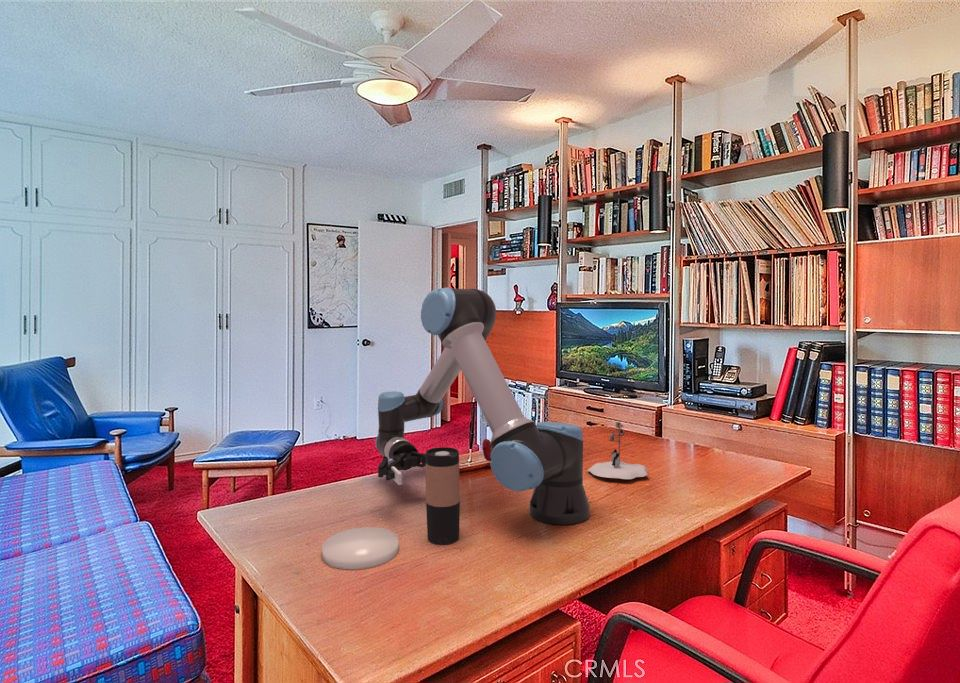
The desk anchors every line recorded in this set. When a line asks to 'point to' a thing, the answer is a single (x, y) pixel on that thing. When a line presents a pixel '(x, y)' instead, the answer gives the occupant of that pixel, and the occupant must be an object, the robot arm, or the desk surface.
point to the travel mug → (442, 495)
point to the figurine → (618, 464)
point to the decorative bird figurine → (487, 449)
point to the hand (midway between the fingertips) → (427, 475)
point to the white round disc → (360, 548)
